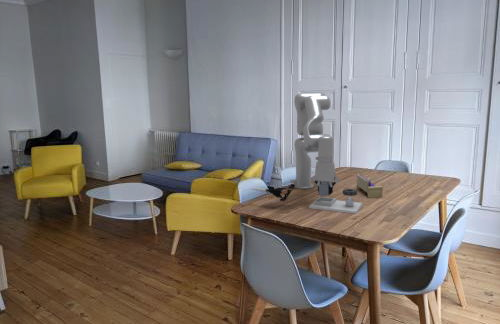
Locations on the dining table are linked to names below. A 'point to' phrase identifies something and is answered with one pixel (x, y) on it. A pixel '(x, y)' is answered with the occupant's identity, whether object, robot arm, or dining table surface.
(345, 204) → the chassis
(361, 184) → the toy sofa
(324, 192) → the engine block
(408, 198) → the dining table surface
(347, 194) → the wheel
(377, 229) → the dining table surface
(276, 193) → the rocket toy
